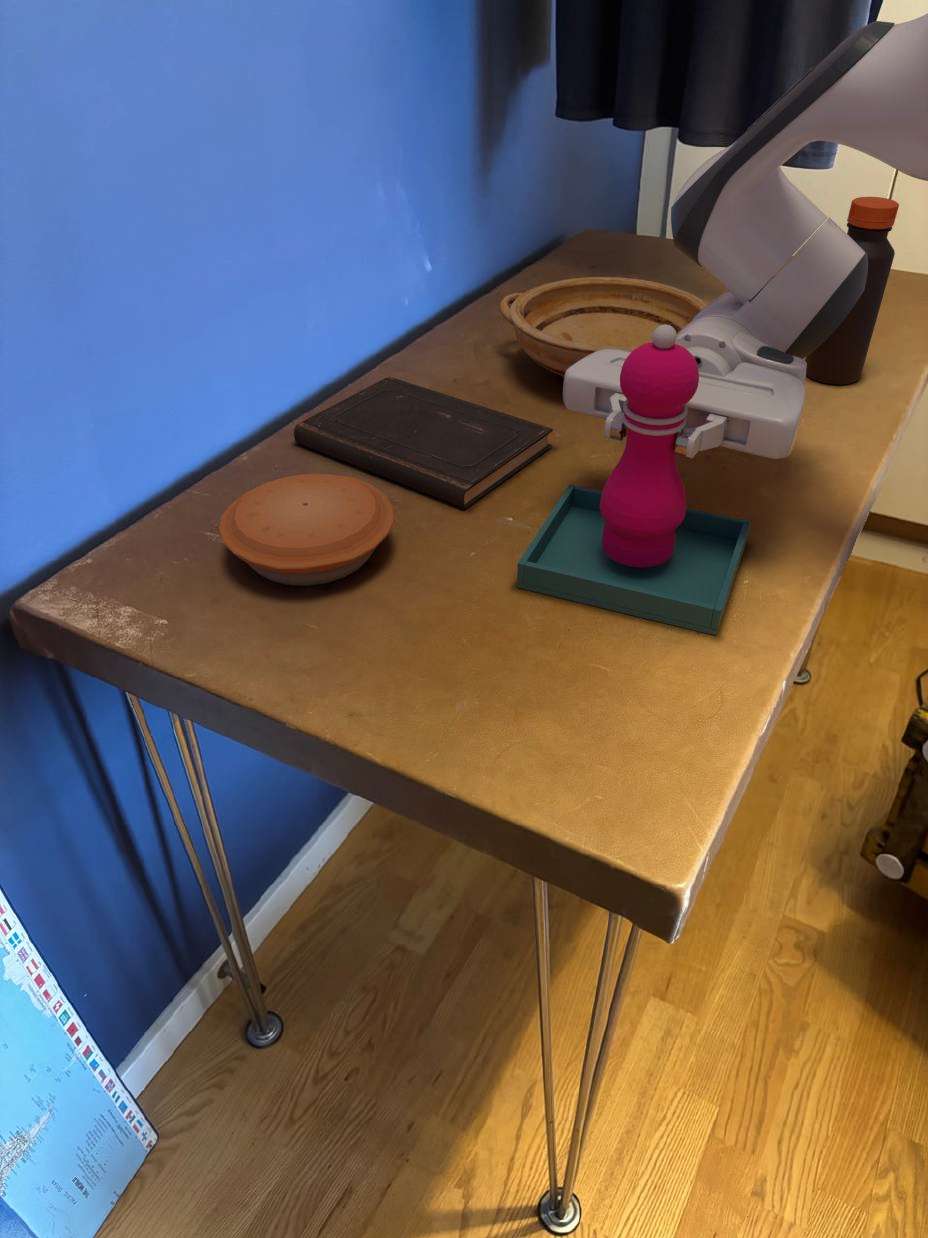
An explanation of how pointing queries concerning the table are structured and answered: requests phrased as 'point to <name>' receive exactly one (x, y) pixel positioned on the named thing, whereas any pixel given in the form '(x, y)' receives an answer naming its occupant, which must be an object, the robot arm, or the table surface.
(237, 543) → the pie
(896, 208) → the bottle
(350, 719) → the table surface
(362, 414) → the hardcover book
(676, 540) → the tray
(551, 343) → the ceramic bowl
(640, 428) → the pepper mill
